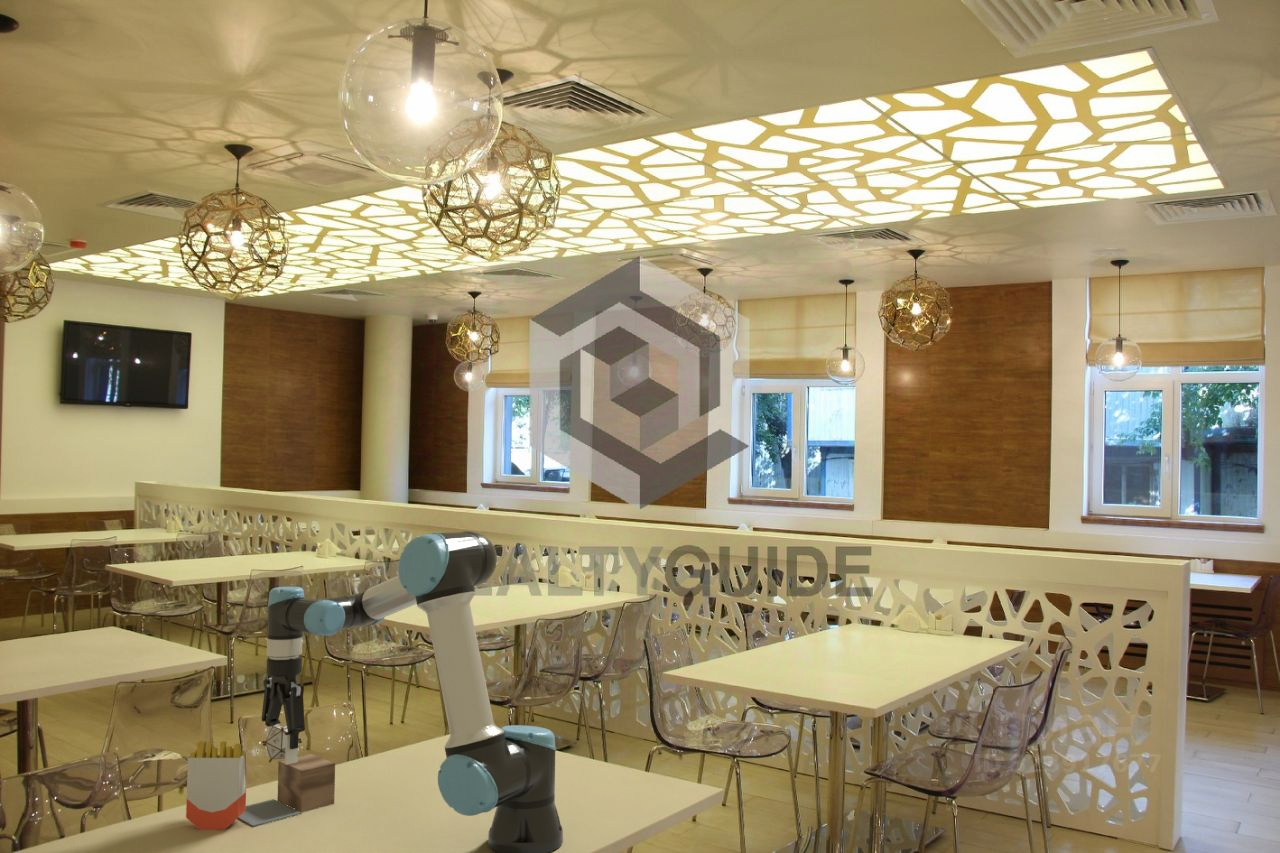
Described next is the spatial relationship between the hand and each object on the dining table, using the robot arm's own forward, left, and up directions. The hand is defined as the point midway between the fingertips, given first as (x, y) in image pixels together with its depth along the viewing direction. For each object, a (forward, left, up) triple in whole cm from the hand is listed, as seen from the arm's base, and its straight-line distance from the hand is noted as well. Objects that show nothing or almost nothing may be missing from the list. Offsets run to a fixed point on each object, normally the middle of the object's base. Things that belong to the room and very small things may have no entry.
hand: (281, 758), depth 218 cm
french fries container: (0, +14, -11) cm, 18 cm away
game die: (0, 0, 0) cm, 0 cm away
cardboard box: (0, -6, -11) cm, 12 cm away
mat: (0, +4, -11) cm, 12 cm away
